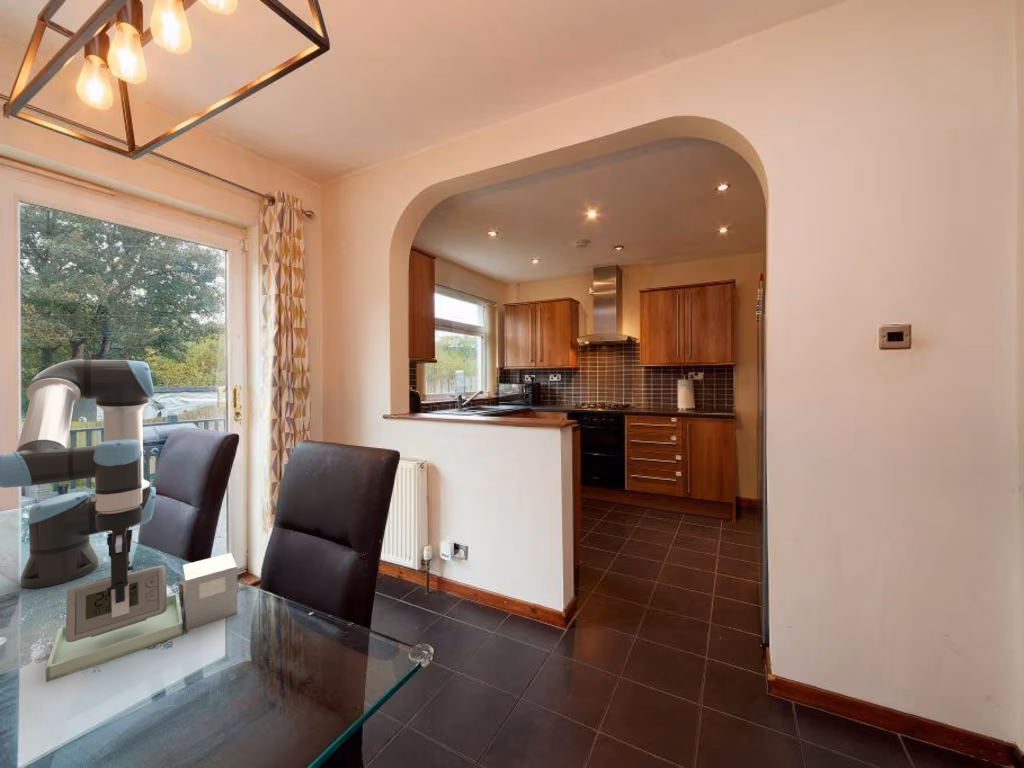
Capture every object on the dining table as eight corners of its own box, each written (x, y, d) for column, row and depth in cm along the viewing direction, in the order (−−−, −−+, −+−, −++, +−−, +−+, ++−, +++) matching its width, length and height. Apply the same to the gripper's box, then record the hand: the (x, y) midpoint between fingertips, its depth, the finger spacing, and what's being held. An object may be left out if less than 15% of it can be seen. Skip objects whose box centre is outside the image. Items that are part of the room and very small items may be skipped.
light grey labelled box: (183, 610, 99) (182, 564, 99) (231, 595, 106) (230, 552, 106) (186, 630, 92) (185, 581, 91) (237, 613, 99) (237, 566, 98)
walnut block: (179, 601, 104) (178, 582, 104) (201, 592, 108) (201, 574, 108) (186, 607, 101) (186, 588, 101) (209, 597, 105) (209, 579, 105)
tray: (59, 639, 88) (59, 627, 88) (178, 603, 103) (178, 592, 102) (45, 682, 76) (45, 668, 76) (182, 634, 90) (182, 622, 90)
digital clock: (59, 648, 81) (58, 597, 80) (78, 624, 88) (77, 578, 88) (163, 621, 89) (162, 575, 89) (171, 602, 97) (170, 560, 97)
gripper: (99, 501, 93) (101, 596, 94) (90, 524, 79) (93, 636, 80) (142, 495, 98) (144, 585, 99) (141, 515, 84) (143, 620, 85)
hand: (121, 607), depth 89 cm, fingers closed on digital clock, 6 cm apart
